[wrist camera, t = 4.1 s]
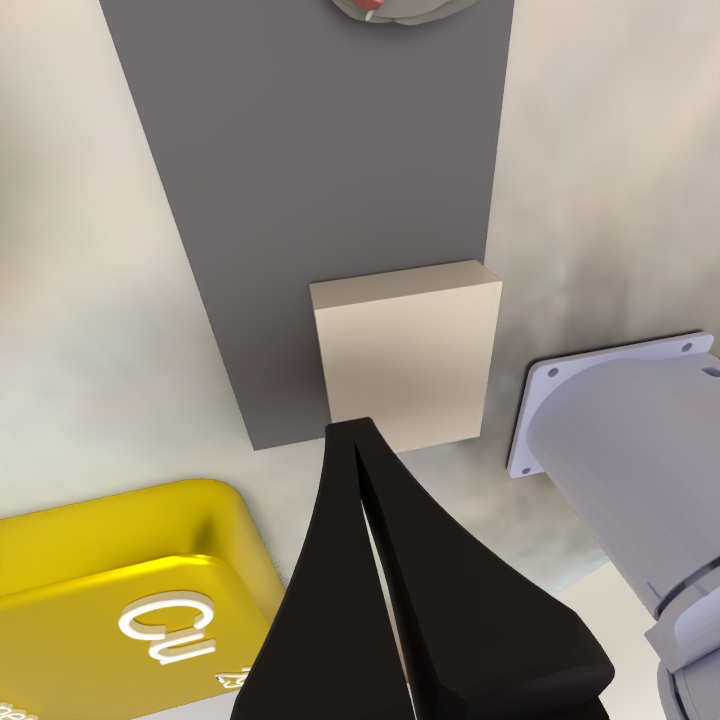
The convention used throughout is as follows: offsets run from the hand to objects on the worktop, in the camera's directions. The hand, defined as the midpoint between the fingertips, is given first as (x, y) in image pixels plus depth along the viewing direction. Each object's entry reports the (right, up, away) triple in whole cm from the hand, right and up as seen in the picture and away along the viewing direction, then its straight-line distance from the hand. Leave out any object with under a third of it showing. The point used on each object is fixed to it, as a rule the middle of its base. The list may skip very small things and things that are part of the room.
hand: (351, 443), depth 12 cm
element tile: (-13, -10, +11) cm, 19 cm away
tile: (-1, +2, +3) cm, 3 cm away
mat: (0, +7, +1) cm, 7 cm away
